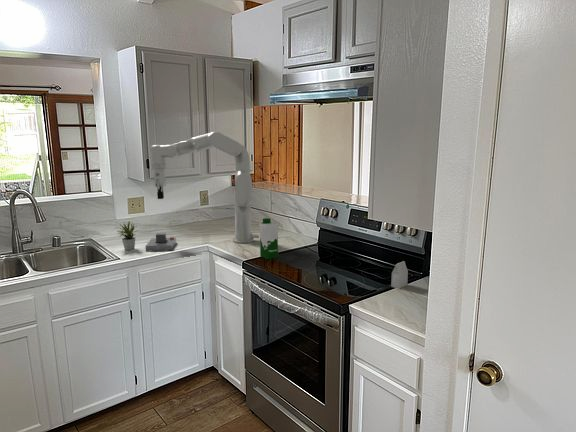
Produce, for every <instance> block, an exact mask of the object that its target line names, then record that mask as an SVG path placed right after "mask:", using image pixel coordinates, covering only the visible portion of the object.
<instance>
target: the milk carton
mask: <svg viewBox="0 0 576 432" xmlns="http://www.w3.org/2000/svg"><path fill="white" fill-rule="evenodd" d="M258 225H259V240H260V241H259V242H260V243H259V245H260V246H259V247H260V248H259V250H260V251H259V254H260V255H259V257H260V258H262V257H263V259H265V260H267V259H268V260H273V259H277V257H278V258H279V242H278V241H279V225H280V223H277V222H274V221H271V218H268V217H266V218H262V222H258ZM272 258H273V259H272Z"/></svg>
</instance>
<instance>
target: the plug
mask: <svg viewBox="0 0 576 432" xmlns="http://www.w3.org/2000/svg"><path fill="white" fill-rule="evenodd" d="M155 238H156V243H166V238H167V233H166V232H164V233H163V232H162V233H156V234H155Z"/></svg>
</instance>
